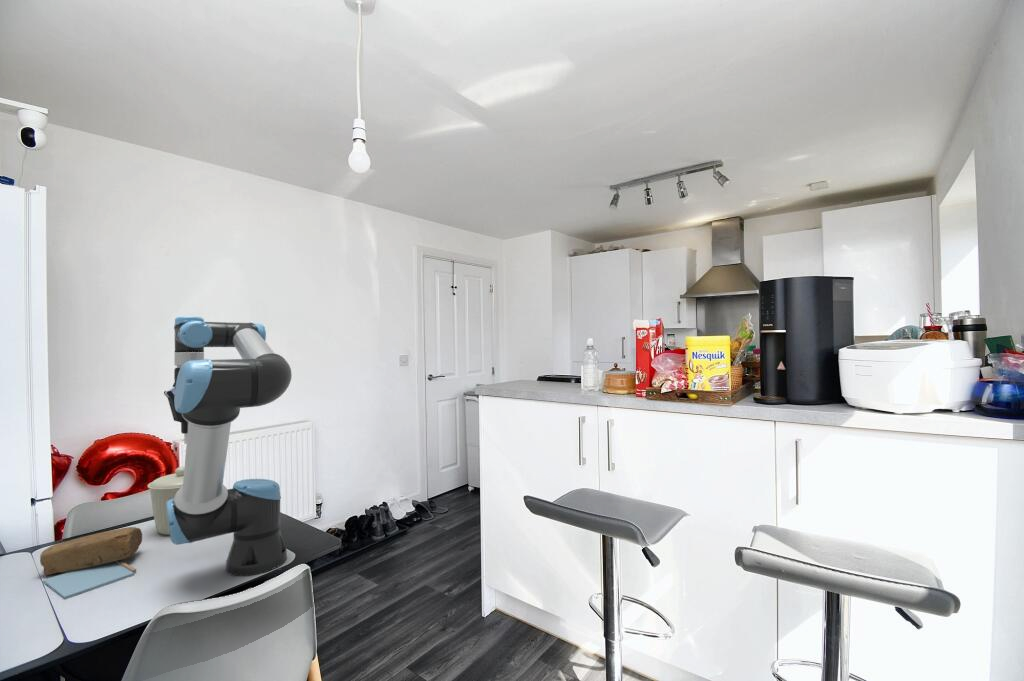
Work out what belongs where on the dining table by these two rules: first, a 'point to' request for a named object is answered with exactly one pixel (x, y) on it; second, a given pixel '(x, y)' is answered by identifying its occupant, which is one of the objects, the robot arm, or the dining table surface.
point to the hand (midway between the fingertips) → (189, 443)
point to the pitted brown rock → (91, 550)
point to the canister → (164, 497)
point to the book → (89, 578)
